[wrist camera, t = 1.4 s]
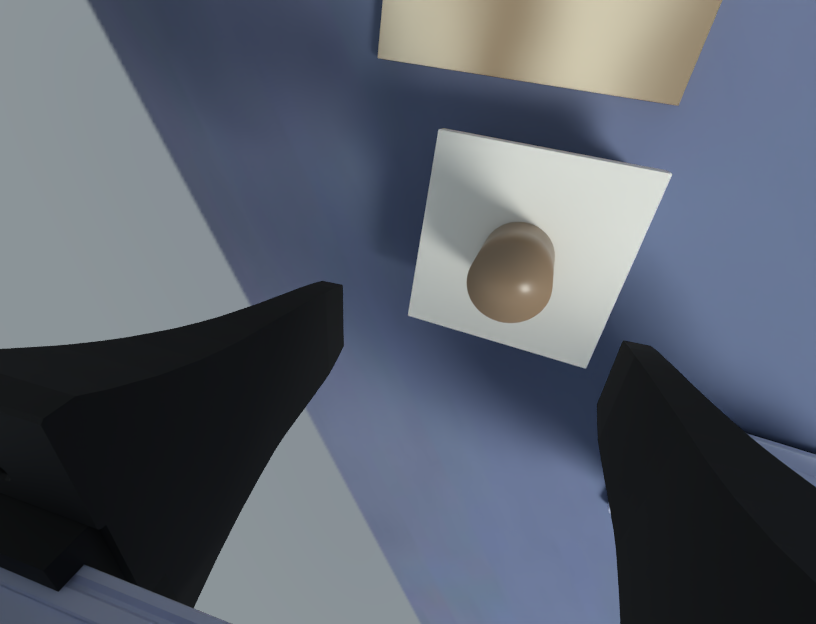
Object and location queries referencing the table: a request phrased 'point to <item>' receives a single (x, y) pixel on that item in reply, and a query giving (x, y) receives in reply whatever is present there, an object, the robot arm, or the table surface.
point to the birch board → (556, 41)
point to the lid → (529, 242)
